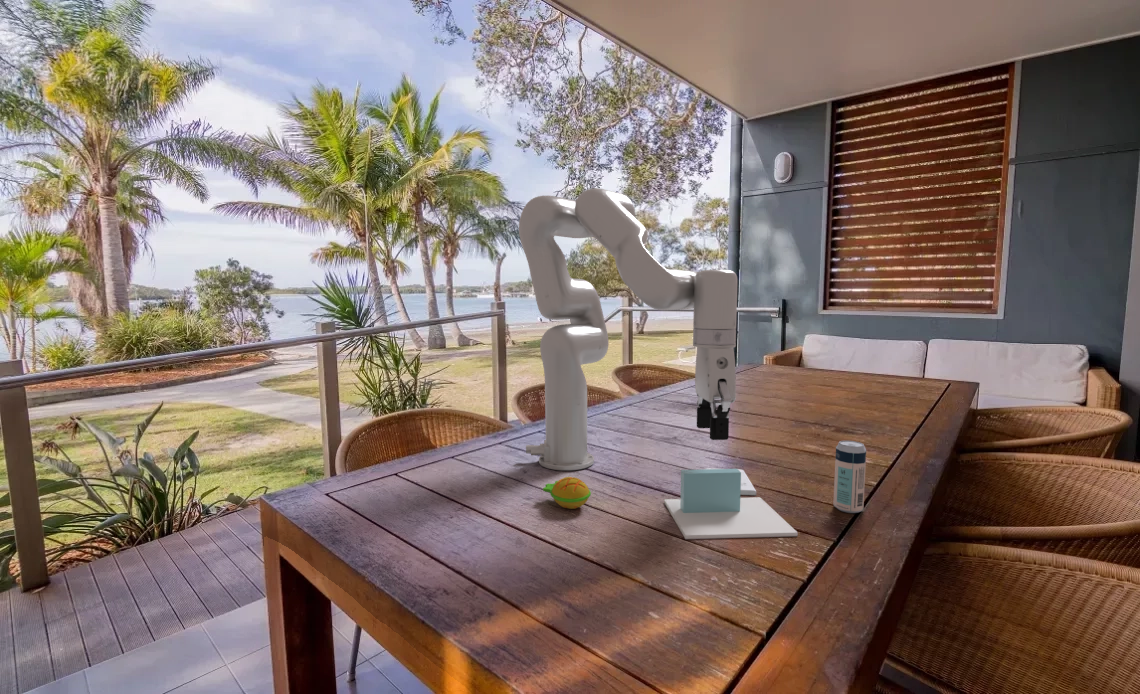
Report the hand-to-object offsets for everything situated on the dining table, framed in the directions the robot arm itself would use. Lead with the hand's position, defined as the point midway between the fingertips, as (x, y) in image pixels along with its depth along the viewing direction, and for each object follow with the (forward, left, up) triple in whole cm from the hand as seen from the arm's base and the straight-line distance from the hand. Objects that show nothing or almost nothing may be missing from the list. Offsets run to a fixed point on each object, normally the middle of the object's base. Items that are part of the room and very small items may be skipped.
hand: (711, 432), depth 100 cm
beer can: (+23, -6, -13) cm, 27 cm away
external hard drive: (+7, +8, -14) cm, 17 cm away
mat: (0, -8, -13) cm, 15 cm away
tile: (-2, -6, -12) cm, 14 cm away
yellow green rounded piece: (-27, -1, -13) cm, 30 cm away
